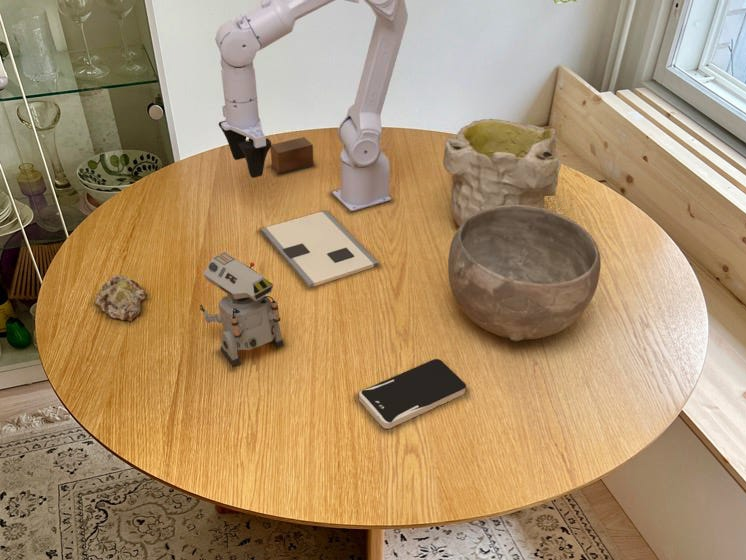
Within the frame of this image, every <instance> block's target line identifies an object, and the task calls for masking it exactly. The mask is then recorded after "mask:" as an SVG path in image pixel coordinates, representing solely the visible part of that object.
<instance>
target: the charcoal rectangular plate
mask: <svg viewBox="0 0 746 560" xmlns="http://www.w3.org/2000/svg"><path fill="white" fill-rule="evenodd" d="M327 255H328V256H329V257H330V258H331V259H332V260H333V261H334V262H335V263H337V262H340V261H343V260H346V259H349V258H353V257H354V255H353V254H352V253H351V252H350V251H349V250H348V249H347V248H343V249H340V250H336V251H333V252H330V253H327Z"/></svg>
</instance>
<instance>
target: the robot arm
mask: <svg viewBox="0 0 746 560" xmlns="http://www.w3.org/2000/svg"><path fill="white" fill-rule="evenodd" d="M334 1H336V0H260V6H258V7H256V8H255V9H252V10H251V11H250V12H248V13H246V14H244V15H243V16H242V14H239V15H237V16H236V17H235V20H232V19H231V20H227V21H224V22H223V23H222V24H220V25H219V27H218V30H217V31H216V35H215V38H214V40H215V43H216V46H217V47H218V50H219V52H220V66H221V69H220V72H221V81H222V89H223V97H224V105H222V106H221V107H222V116H223V117H224V118H225V120H222V121H220V122H218V127H219V128H220V130H221V131H222V133H223V135H224V136H225V139H226V141H227V143H228V147H229V149H230V152H231V155H232V158H233V160H235V161H238V160H243V159H245V161H246V165H247V171H248V173H249V176H250V177H251V178H252V179H254V178H260V177H262V176H263V173H264V167H265V162H266V158H267V155H268V154H269V153H268V152H269V151H270V150H271V149H270V147H271V145H272V141H271V140H270V139H269V138H268V137H266V135H265V134H264V131H263V127H262V126H263V125H262V122H261V118H260V114H259V104H258V91H257V80H256V69H255V67H254V60H255V58H256V54H257V53H258V52H259V51H262V50H263V49H265V48H266V47H268V46H270V45H272V44H274V43H275V42H277V41H279V40H280V39H282V38H284V37H286V36H287V35H288V34H290V33H292V32H293V30H294V27H295V25H296V24H295V23H296V21H298V20H299V19H301V18H303V17H305V16H307V15H309V14H311V13H314V12H316V11H317V10H319V9H321V8H323V7H325V6H327V5H329V4H331V3H332V2H333V3H334ZM345 1H347V2H351V3H355V4H359V3H360V0H345ZM363 1H364V2H365V3H366V4H367V5H368V6H369V7H370V9H371V11H372V12H373V15H374V16H375V22H374V26H373V30H372V33H371V38H370V42H369V46H368V49H367V53H366V57H365V61H364V65H363V69H362V72H361V76H360V80H359V84H358V88H357V91H356V96H355V99H354V103H353V104H352V105H351V106H350V107H348V109H347V113H346V116H345V117H344V119H343V120H342V121H341V122H340V124H339V126H338V128H337V129H338V130H337V136H338V138H339V140H340V142H341V143H342V144H343V147H342V151H341V153H340V189H337V190H334V191H332V195H333V197H335V198H336V199H337V200H338V201H339V202H340V203H342V205H343V206H344V207H345V208H346V209H347V210H349V211H350V212H355V211H358V210H362V209H366V208H368V207H369V208H370V207H372V206H376V205H379V204H383V203H386V202H390V201H391V200H392V198H391V196H390V186H391V185H390V184H391V183H390V181H391V166H390V162H389V159H388V157H387V155H386V154H385V153H384V152H382V145H381V137H382V133H383V131H382V118H381V114H382V111H383V108H384V104H385V101H386V97H387V94H388V90H389V86H390V82H391V79H392V75H393V73H394V69H395V65H396V62H397V58H398V54H399V52H400V47H401V45H402V41H403V38H404V33H405V30H406V27H407V23H408V19H409V18H408V17H409V14H408V9H407V5H406V2H405V0H363ZM247 138H248V140H247Z"/></svg>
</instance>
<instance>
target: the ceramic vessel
mask: <svg viewBox="0 0 746 560" xmlns="http://www.w3.org/2000/svg"><path fill="white" fill-rule="evenodd" d="M557 143H558V137H557V136H556V129H555V128H554V127H552V128H546V129H545V127H541V126H538V125H534V124H529V123H526V124H524V125H523V124H520V123H516V122H511V121H509V120H503V119H497V118H487V119H486V118H484V119H479V120H474V121H473V120H472V122H471V123H469V124H467V125H464V126H463V127H461V128H460V130H459V131H458V132H457V134H456V137H448V138H447V139H445V141H444V152H443V153H444V154H443V159H442V164H443V168H444V170H445V171H446V172H447V173H450V174H451V175H453V179H452V187H451V190H450V193H451V194H450V195H451V198H450V210H451V214H452V218H453V219H454V221H455V223H456V224H457V226H458V228H459V227H460V226H461V224H462V223H463V221H464V220H465V219H466V218H467V217H469V216H471V215H472V214H474V213H477V212H479V211H482V210H486V209H489V208H493V207H497V206H503V205H526V206H534V207H539V208H543V209H545V202H546V201H545V197H554V196H556V194H557V190H556V189H557V187H558V185H559V173H560V169H561V167H562V161H561V158H560V156H559V153H558V151H557V148H556V147H557Z"/></svg>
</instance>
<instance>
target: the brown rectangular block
mask: <svg viewBox="0 0 746 560" xmlns="http://www.w3.org/2000/svg"><path fill="white" fill-rule="evenodd" d="M313 145H314V144H313V143H311V142H310V140H309V139H308V138H306V137H305V136H302V137H297V138H294V139H290V140H285V141H281V142H277V143H271V147H270V149H269V150H270V161H271V168H272V169H273V170H274V171H275V172H276V173H277V174H278V175H280V176H281V175H285V174H289V173H292V172H296V171H297V172H298V171H301V170H304V169H308V168H312V167H314V146H313Z"/></svg>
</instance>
